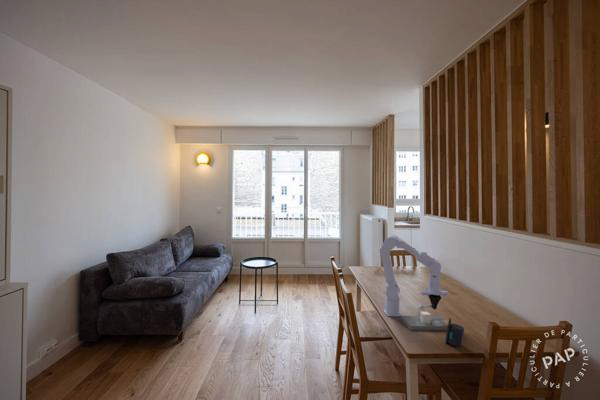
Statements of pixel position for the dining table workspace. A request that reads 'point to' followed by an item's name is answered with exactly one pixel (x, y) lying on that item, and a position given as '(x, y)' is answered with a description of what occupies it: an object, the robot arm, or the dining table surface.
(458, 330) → the speaker
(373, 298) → the dining table surface
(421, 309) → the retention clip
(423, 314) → the plug
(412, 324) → the power strip
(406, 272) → the dining table surface
